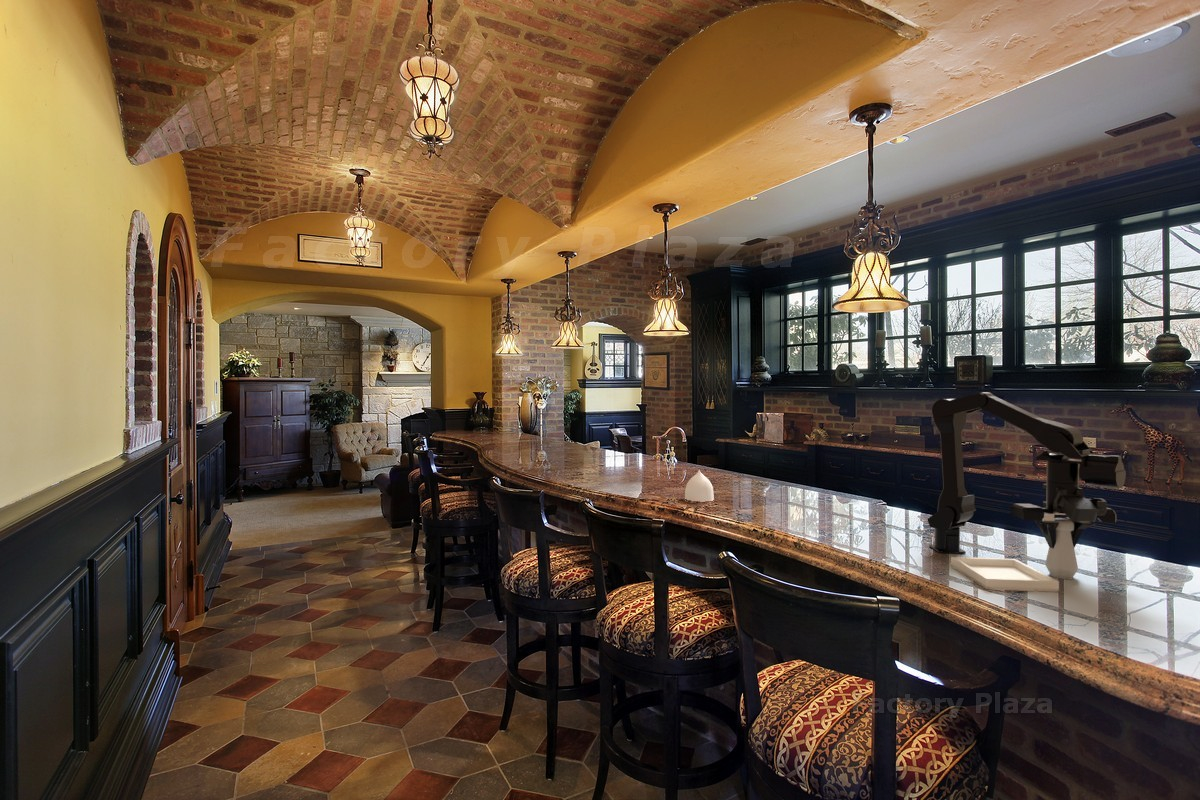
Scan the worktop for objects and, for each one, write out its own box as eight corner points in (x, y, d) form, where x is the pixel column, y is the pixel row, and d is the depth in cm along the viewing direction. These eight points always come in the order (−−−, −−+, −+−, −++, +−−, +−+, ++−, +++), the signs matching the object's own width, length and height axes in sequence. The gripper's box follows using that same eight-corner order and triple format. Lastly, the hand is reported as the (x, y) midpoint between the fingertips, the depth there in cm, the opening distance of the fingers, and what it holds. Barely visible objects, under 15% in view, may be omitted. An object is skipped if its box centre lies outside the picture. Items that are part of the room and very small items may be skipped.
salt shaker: (1045, 570, 135) (1046, 515, 135) (1077, 575, 132) (1078, 518, 131) (1044, 576, 131) (1045, 519, 130) (1077, 582, 127) (1078, 523, 127)
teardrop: (683, 497, 227) (683, 466, 226) (711, 497, 226) (711, 466, 226) (686, 503, 216) (686, 471, 215) (716, 503, 215) (716, 470, 215)
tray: (951, 566, 139) (951, 556, 139) (1014, 568, 137) (1015, 558, 137) (986, 589, 123) (986, 579, 123) (1058, 592, 121) (1059, 581, 121)
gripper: (1039, 487, 124) (1038, 559, 124) (1136, 488, 121) (1135, 562, 122) (1009, 479, 135) (1008, 545, 135) (1098, 480, 132) (1097, 548, 133)
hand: (1061, 550), depth 131 cm, fingers closed on salt shaker, 3 cm apart
